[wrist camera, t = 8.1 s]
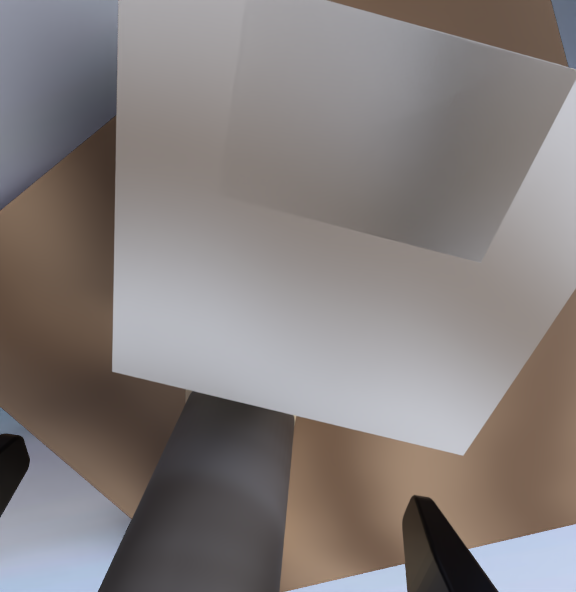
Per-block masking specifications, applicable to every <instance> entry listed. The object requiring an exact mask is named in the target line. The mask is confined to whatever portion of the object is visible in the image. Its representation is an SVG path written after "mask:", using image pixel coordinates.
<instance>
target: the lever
mask: <svg viewBox="0 0 576 592" xmlns="http://www.w3.org/2000/svg"><path fill="white" fill-rule="evenodd" d="M295 421H296V416H295V415H291V414H287V413H283V412H279V411H274V410H270V409H266V408H262V407H258V406H254V405H249V404H245V403H241V402H237V401H233V400H229V399H224V398H220V397H216V396H212V395H208V394H204V393H199V392H195V391H191V390H187V389H186V399H185V406H184V408H183V410H182V412H181V414H180V417H179V419H178V421H177V423H176V425H175V427H174V430H173V432H172V434H171V436H170V438H169V440H168V442H167V445H166V447H165V449H164V451H163V453H162V455H161V457H160V460H159V462H158V464H157V466H156V468H155V470H154V472H153V475H152V477H151V479H150V481H149V483H148V485H147V487H146V490H145V492H144V494H143V496H142V498H141V500H140V502H139V505H138V507H137V509H136V511H135V513H134V515H133V517H132V520H131V522H130V524H129V526H128V528H127V530H126V533H125V535H124V537H123V539H122V541H121V543H120V545H119V548H118V550H117V552H116V554H115V556H114V558H113V560H112V563H111V565H110V567H109V569H108V571H107V573H106V575H105V578H104V580H103V582H102V584H101V586H100V588H99V590H98V592H279V591H280V580H281V569H282V558H283V547H284V536H285V524H286V513H287V502H288V491H289V480H290V469H291V457H292V446H293V435H294V426H295Z"/></svg>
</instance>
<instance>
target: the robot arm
mask: <svg viewBox="0 0 576 592" xmlns="http://www.w3.org/2000/svg"><path fill="white" fill-rule="evenodd" d="M29 463H30V458H29V455H28V452H27V448H26V445H25V442H24V439H23V437H21V436H19V435H12V434H1V435H0V517H1V515H2V514H3V512H4V510H5V508H6V507H7V505H8V503H9V501H10V500H11V498H12V496H13V494H14V493H15V491H16V489H17V487H18V486H19V484H20V482H21V480H22V479H23V477H24V475H25V473H26V472H27V470H28V467H29ZM402 532H403V544H404V556H405V568H406V580H407V592H498V590H497V589H496V588H495V586H494V585H493V583H492V582H491V581H490V579H489V578H488V576H487V575H486V574H485V572H484V571H483V569H482V568H481V567H480V565H479V564H478V562H477V561H476V560H475V558H474V557H473V555H472V554H471V552H470V551H469V550H468V548H467V547H466V545H465V544H464V543H463V541H462V540H461V538H460V537H459V536H458V534H457V533H456V531H455V530H454V529H453V527H452V526H451V524H450V523H449V521H448V520H447V519H446V517H445V516H444V514H443V513H442V512H441V510H440V509H439V507H438V506H437V505H436V503H435V502H434V501H433V500H432V499H431V498H430V497H426V496H419V495H413V496H412V497H411V498H410V501H409V503H408V506H407V508H406V510H405V513H404V515H403V519H402Z"/></svg>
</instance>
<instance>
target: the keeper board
mask: <svg viewBox="0 0 576 592" xmlns="http://www.w3.org/2000/svg"><path fill="white" fill-rule="evenodd" d="M186 389H187V390H191V391H195V392H199V393H204V394H208V395H212V396H216V397H220V398H224V399H229V400H233V401H237V402H241V403H245V404H249V405H254V406H258V407H262V408H266V409H270V410H274V411H279V412H283V413H287V414H291V415H295V416H296V421H295V426H294V435H293V446H292V457H291V469H290V480H289V491H288V502H287V513H286V524H285V536H284V547H283V558H282V569H281V580H280V591H279V592H285V591H289V590H294V589H298V588H302V587H307V586H311V585H315V584H320V583H324V582H328V581H332V580H337V579H341V578H345V577H350V576H354V575H358V574H363V573H367V572H371V571H375V570H380V569H384V568H388V567H393V566H397V565H401V564H405V556H404V544H403V532H402V519H403V515H404V513H405V510H406V508H407V506H408V503H409V501H410V498H411V497H412V496H413V495H419V496H426V497H430V498H431V499H432V500H433V501H434V502H435V503H436V505H437V506H438V507H439V509H440V510H441V512H442V513H443V514H444V516H445V517H446V519H447V520H448V521H449V523H450V524H451V526H452V527H453V529H454V530H455V531H456V533H457V534H458V536H459V537H460V538H461V540H462V541H463V543H464V544H465V545H466V547H467V548H468V549H470V548H474V547H479V546H483V545H487V544H492V543H496V542H500V541H504V540H509V539H513V538H517V537H522V536H526V535H530V534H535V533H539V532H543V531H547V530H552V529H556V528H560V527H565V526H569V525H573V524H576V69H573V68H569V67H568V64H567V60H566V56H565V52H564V48H563V45H562V41H561V37H560V33H559V29H558V26H557V22H556V18H555V14H554V10H553V7H552V3H551V0H118V53H117V112H116V116H115V117H113V118H112V119H111V120H110V121H109V122H107V123H106V124H105V125H104V126H103V127H101V128H100V129H99V130H98V131H96V132H95V133H94V134H93V135H92V136H90V137H89V138H88V139H87V140H86V141H84V142H83V143H82V144H81V145H79V146H78V147H77V148H76V149H75V150H73V151H72V152H71V153H70V154H69V155H67V156H66V157H65V158H64V159H62V160H61V161H60V162H59V163H58V164H56V165H55V166H54V167H53V168H51V169H50V170H49V171H48V172H47V173H45V174H44V175H43V176H42V177H41V178H39V179H38V180H37V181H36V182H34V183H33V184H32V185H31V186H30V187H28V188H27V189H26V190H25V191H24V192H22V193H21V194H20V195H19V196H17V197H16V198H15V199H14V200H13V201H11V202H10V203H9V204H8V205H7V206H5V207H4V208H3V209H2V210H0V407H1V408H2V409H3V410H5V411H6V412H7V413H8V414H9V415H10V416H12V417H13V418H14V419H15V420H16V421H17V422H19V423H20V424H21V425H22V426H23V427H24V428H26V429H27V430H28V431H29V432H30V433H32V434H33V435H34V436H35V437H36V438H37V439H39V440H40V441H41V442H42V443H43V444H44V445H46V446H47V447H48V448H49V449H50V450H51V451H53V452H54V453H55V454H56V455H57V456H58V457H60V458H61V459H62V460H63V461H64V462H65V463H67V464H68V465H69V466H70V467H71V468H72V469H74V470H75V471H76V472H77V473H78V474H79V475H81V476H82V477H83V478H84V479H85V480H87V481H88V482H89V483H90V484H91V485H92V486H94V487H95V488H96V489H97V490H98V491H99V492H101V493H102V494H103V495H104V496H105V497H106V498H108V499H109V500H110V501H111V502H112V503H113V504H115V505H116V506H117V507H118V508H119V509H120V510H122V511H123V512H124V513H125V514H126V515H127V516H129V517H130V518H131V519H132V517H133V515H134V513H135V511H136V509H137V507H138V505H139V502H140V500H141V498H142V496H143V494H144V492H145V490H146V487H147V485H148V483H149V481H150V479H151V477H152V475H153V472H154V470H155V468H156V466H157V464H158V462H159V460H160V457H161V455H162V453H163V451H164V449H165V447H166V445H167V442H168V440H169V438H170V436H171V434H172V432H173V430H174V427H175V425H176V423H177V421H178V419H179V417H180V414H181V412H182V410H183V408H184V406H185V399H186Z"/></svg>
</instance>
